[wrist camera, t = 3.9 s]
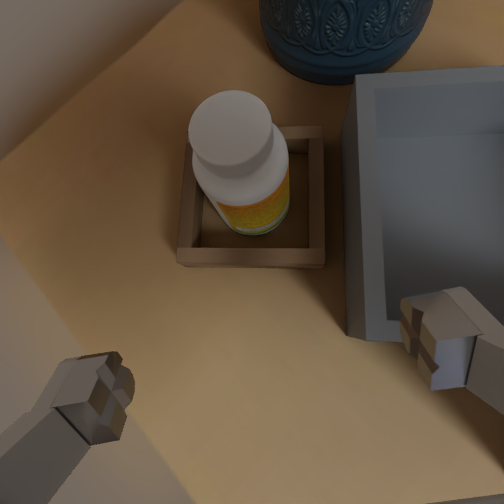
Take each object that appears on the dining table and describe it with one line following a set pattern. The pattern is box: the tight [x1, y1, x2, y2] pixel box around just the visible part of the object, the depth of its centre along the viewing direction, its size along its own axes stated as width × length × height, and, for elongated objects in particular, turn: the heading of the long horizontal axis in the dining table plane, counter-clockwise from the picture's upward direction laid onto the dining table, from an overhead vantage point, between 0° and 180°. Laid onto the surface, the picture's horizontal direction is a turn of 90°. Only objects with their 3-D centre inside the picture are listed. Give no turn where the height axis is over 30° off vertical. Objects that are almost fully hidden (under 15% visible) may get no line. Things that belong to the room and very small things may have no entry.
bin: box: [341, 65, 504, 342], centre depth 19 cm, size 15×15×6 cm
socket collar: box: [176, 125, 325, 269], centre depth 23 cm, size 10×10×2 cm
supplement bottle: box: [188, 90, 290, 235], centre depth 19 cm, size 5×5×10 cm
